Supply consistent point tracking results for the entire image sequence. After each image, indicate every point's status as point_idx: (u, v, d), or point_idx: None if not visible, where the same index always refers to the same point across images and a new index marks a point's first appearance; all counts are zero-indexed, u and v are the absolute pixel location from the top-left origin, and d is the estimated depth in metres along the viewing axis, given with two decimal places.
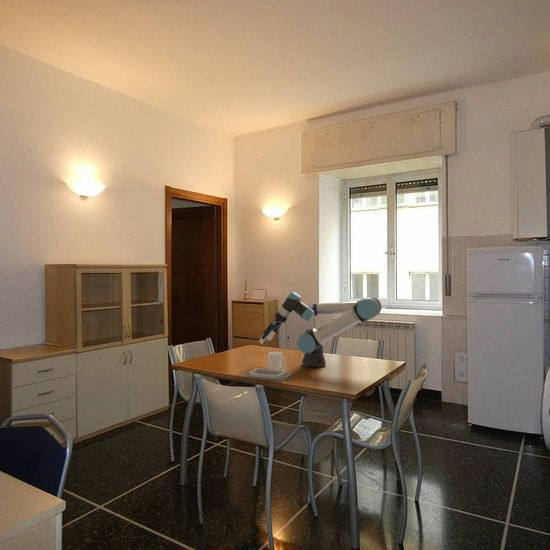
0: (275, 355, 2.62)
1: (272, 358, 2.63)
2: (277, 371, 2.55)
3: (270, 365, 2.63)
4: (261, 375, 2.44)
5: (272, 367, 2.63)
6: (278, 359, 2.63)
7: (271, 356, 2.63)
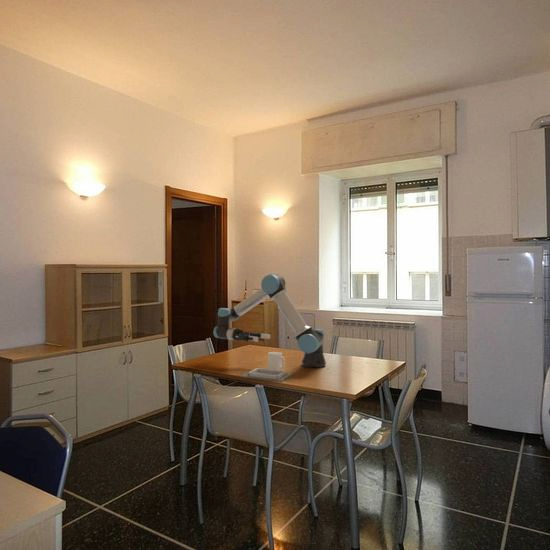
0: (275, 355, 2.62)
1: (272, 358, 2.63)
2: (277, 371, 2.55)
3: (270, 365, 2.63)
4: (261, 375, 2.44)
5: (272, 367, 2.63)
6: (278, 359, 2.63)
7: (271, 356, 2.63)
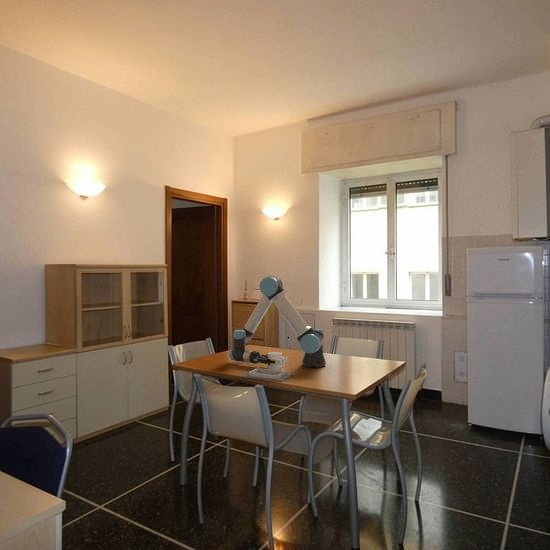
0: (274, 355, 2.62)
1: (272, 358, 2.62)
2: (277, 371, 2.55)
3: (270, 365, 2.63)
4: (261, 375, 2.44)
5: (272, 367, 2.62)
6: (278, 359, 2.63)
7: (271, 356, 2.63)
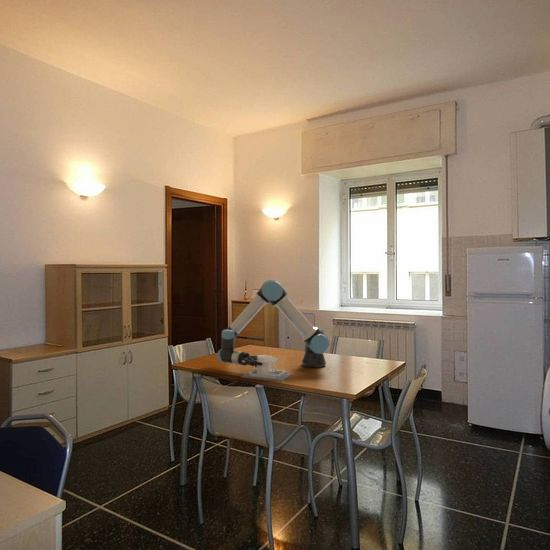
0: (264, 359, 2.47)
1: None
2: (277, 371, 2.55)
3: (259, 369, 2.48)
4: (261, 375, 2.44)
5: (261, 371, 2.47)
6: (268, 363, 2.48)
7: (260, 359, 2.48)
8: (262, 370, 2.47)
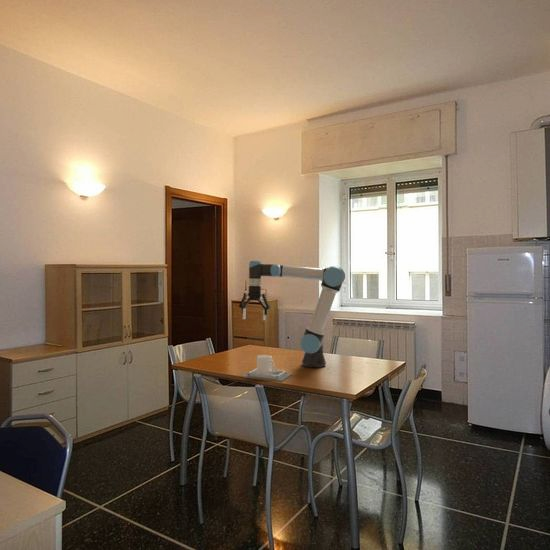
0: (264, 359, 2.47)
1: (261, 362, 2.47)
2: (277, 371, 2.55)
3: (259, 369, 2.48)
4: (261, 375, 2.44)
5: (261, 371, 2.47)
6: (268, 363, 2.48)
7: (260, 359, 2.48)
8: (262, 370, 2.47)
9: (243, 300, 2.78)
